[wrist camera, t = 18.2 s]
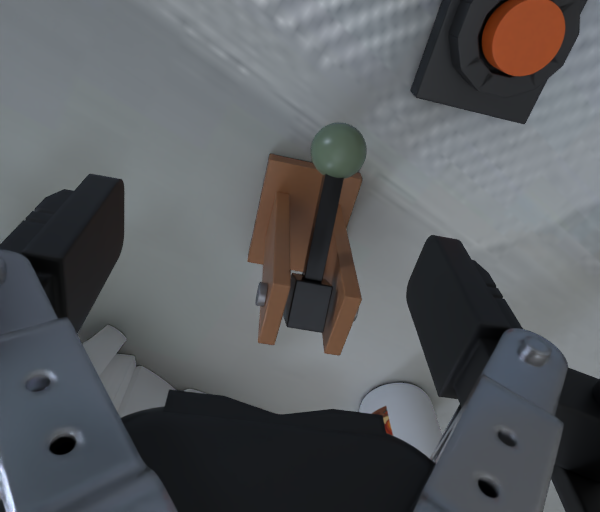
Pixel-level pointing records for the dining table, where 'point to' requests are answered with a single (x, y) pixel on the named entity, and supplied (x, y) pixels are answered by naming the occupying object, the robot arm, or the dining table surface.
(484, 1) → the button base
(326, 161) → the switch lever
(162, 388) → the white letter sign
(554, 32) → the power button
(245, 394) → the dining table surface
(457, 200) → the dining table surface
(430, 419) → the milk bottle
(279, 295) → the switch bracket
